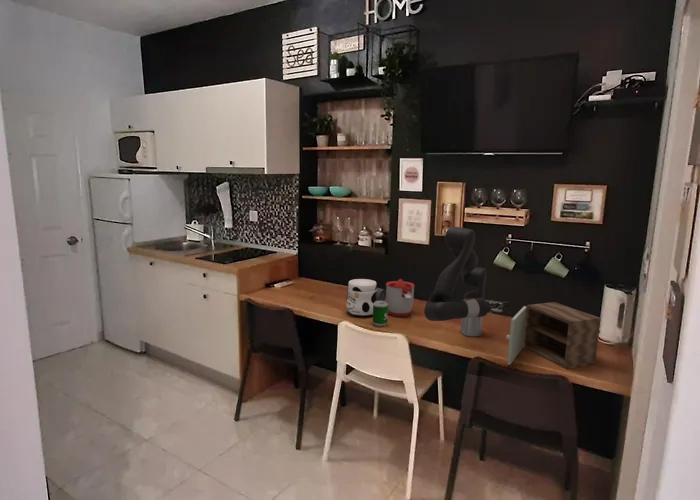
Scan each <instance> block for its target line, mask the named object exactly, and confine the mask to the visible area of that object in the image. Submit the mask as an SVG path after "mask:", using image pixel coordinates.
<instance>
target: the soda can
mask: <svg viewBox="0 0 700 500" xmlns="http://www.w3.org/2000/svg"><path fill="white" fill-rule="evenodd" d="M388 314H389V313H388V303H387V302H386V300H385V301H382V300H378V301H375V302H374V303H373V315H372V324H373V325H374V326H375V327H385V326H386V325H387V324H388V317H389V315H388Z"/></svg>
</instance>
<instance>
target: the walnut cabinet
mask: <svg viewBox="0 0 700 500" xmlns="http://www.w3.org/2000/svg"><path fill="white" fill-rule="evenodd" d="M526 307H527V311H526V322H525V332H524V342H523V348H522V349H525V350H528V351H529V352H532V353H534V354H535V355H538V356H539V357H542V358H543V359H545V360H547V361H549V362H551V363H553V364H555V365H558V367H561V368H563V369H565V370H569V369H574V368H575V369H576V368H581V367H586V366H590V365H596V359H597V351H598V343H599V335H600V326H601V319H602V318H601V317H600V316H596V315H593V314H590V313H587V312H584V311H582V310H578V309H575V308H572V307H570V306H567V305H564V304H561V303H559V302H555V301H551V302H543V303H541V302H540V303H533V304H527V305H526Z"/></svg>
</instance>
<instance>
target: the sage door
mask: <svg viewBox="0 0 700 500" xmlns="http://www.w3.org/2000/svg"><path fill="white" fill-rule="evenodd" d="M526 313H527V305H526V306H525V305H523V307H521V309H520V310H519V311H518V312H517V313H516V314H515V315H514V316H513V317H512V318H511V319H510V327H509V328H510V329H509V334H506V337H505V338H506V340H508V348H507V350H508V351H507V360H506V365H509V366H510V365H511V364H512V363H513V361H514V360H516V358H517V356H518V355H519V353H520V352H521V351H522V349H524V348H523V345H524V334H525V324H526Z"/></svg>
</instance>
